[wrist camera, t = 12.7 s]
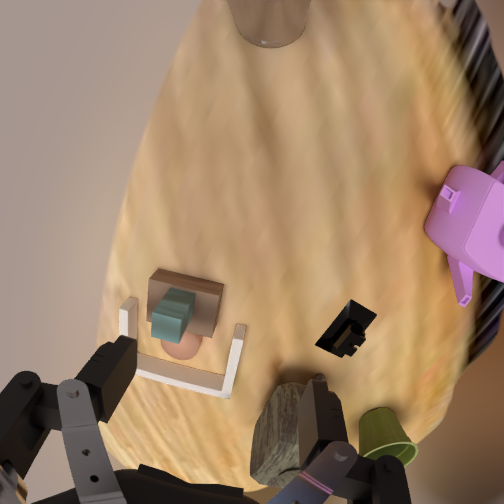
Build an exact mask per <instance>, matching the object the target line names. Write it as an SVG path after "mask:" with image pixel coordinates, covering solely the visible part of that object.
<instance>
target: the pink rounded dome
mask: <svg viewBox="0 0 504 504" xmlns="http://www.w3.org/2000/svg"><path fill="white" fill-rule="evenodd" d="M201 341H202V336H201V335H197V334H193V333H189V332H186V331H185V332H184V334H183V336H182V339H181V341H180V343H179V344H176V343H173V342H169V341H165V340H162V339H161V345H162V348H163V349H164V351H165V352H166V353H167V354H168V355H170V356H171V357H173V358H176V359H179V360H188V359H191V358H193V357H194V356H195V355H196V353H197V351H198V349H199V346H200V343H201Z"/></svg>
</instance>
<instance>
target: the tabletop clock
mask: <svg viewBox="0 0 504 504" xmlns="http://www.w3.org/2000/svg"><path fill="white" fill-rule="evenodd" d="M315 380H322V381H324V380H325V377H324V375H322V374H318V375H317V376H316V378H315ZM306 386H307V385H303V384H299V383H296V382H289V383H286V384H282V385H279V386H278V387H277V388H276V390H275V391H274V393H273V394H272V396H271V398H270V399H269V401H268V402H267V404H266V406H265V408H264V409H263V411H262V413H261V415H260V416H259V418H258V420H257V423H256V425H255V429H254V434H253V442H252V450H251V461H250V476H251V477H252V478H253V479H254V480H256V481H257V482H258V483H259V484H262V485H268V486H273V487H280V488H282V489H283V488H284V487H285V486H286V485H287V484H288V483H289V482H291V481H292V480H293V479H294V478H295V477H296V476H297V475H298V474H299V473H300V472H303V471H304V470H305V469H299V437H298V406H299V402H300V400H301V398H302V395H303V393H304V391H305V388H306ZM328 392H330V393H335V392H332V391H328ZM343 418H344V417H343Z"/></svg>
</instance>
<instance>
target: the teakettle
mask: <svg viewBox="0 0 504 504" xmlns="http://www.w3.org/2000/svg"><path fill="white" fill-rule="evenodd" d="M424 229H425V232H426V234H427V235H428V236H429V238H430V239H431V240H432V241H433V242H434V243H435V244H436V245H437V246H438V247H439V248H440V249H442V250H443V251H444V252H445V253H446V254H448V256H447V259H448V263H449V267H450V271H451V275H452V279H453V283H454V288H455V292H456V297H457V302H458V304H459V305H461V306H463V307H465V306H466V305H467V303H468V302H469V301H470V300H471V299H472V279H473V271H476V272H478V273H481V274H483V275H485V276H487V277H490V278H493V279H495V280H498V281H501V282H504V161H502V162H501V163H500V164H499V165H498V167H497V168H496V169H495V170H494V171H493V173H492V174H491V175H490V176H489V175H487V174H485V173H484V172H482V171H479V170H477V169H474V168H471V167H468V166H464V165H458V166H455V167H453V168H451V170H450V171H449V173H448V175H447V177H446V179H445V181H444V183H443V185H442V187H441V189H440V191H439V193H438V195H437V197H436V199H435V202H434V204H433V206H432V208H431V210H430V213H429V215H428V217H427V220H426V222H425V225H424Z"/></svg>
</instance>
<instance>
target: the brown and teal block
mask: <svg viewBox="0 0 504 504" xmlns="http://www.w3.org/2000/svg"><path fill="white" fill-rule="evenodd" d="M223 286H224V284H221V283H217V282H213V281H209V280H204V279H200V278H196V277H192V276H187V275H183V274H179V273H175V272H171V271H167V270H163V269H159V268H158V270H157V271H156V272H155V273H154V274H153V275H152V276H151V277H150V278H149V285H148V301H147V320H146V321H149V322H152V328H151V337H155V338H158V339H162V340H165V341H169V342H173V343H176V344H179V343H180V341H181V339H182V336H183V334H184V332H185V331H186V332H189V333H193V334H197V335H201V336H205V337H210V338H212V336H213V333H214V330H215V327H216V324H217V318H218V313H219V307H220V302H221V296H222V291H223Z"/></svg>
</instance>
